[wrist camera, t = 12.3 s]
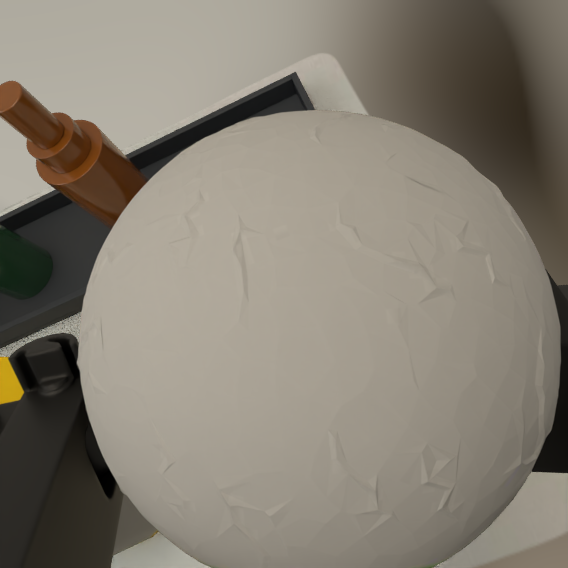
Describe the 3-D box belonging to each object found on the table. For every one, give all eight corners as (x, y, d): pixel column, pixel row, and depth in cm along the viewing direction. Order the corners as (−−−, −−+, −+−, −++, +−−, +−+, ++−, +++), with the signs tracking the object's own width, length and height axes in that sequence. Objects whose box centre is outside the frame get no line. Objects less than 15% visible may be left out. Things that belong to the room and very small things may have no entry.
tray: (301, 90, 46) (295, 71, 44) (350, 188, 41) (346, 172, 39) (-21, 247, 50) (-42, 236, 47) (-10, 352, 45) (-33, 347, 43)
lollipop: (284, 502, 18) (-144, 676, 4) (279, 320, 20) (-2, 53, 7) (484, 501, 16) (857, 785, 3) (453, 304, 19) (561, -98, 5)
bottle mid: (176, 190, 45) (53, 55, 30) (165, 244, 43) (29, 131, 28) (125, 192, 47) (-18, 64, 31) (112, 244, 45) (-45, 136, 29)
